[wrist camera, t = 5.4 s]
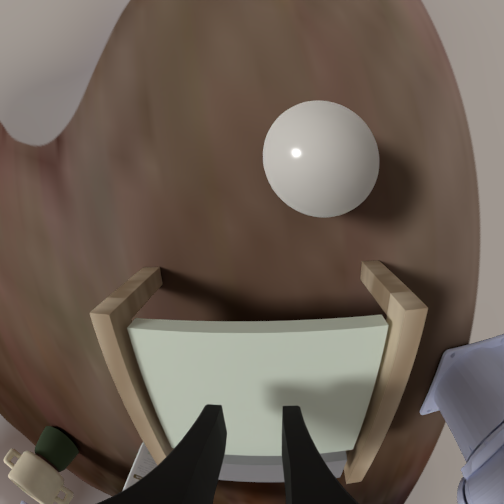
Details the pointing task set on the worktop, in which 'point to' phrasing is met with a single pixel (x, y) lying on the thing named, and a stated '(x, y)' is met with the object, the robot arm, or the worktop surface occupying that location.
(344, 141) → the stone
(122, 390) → the frame
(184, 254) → the worktop surface
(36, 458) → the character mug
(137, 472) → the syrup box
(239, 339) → the trapdoor
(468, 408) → the robot arm
